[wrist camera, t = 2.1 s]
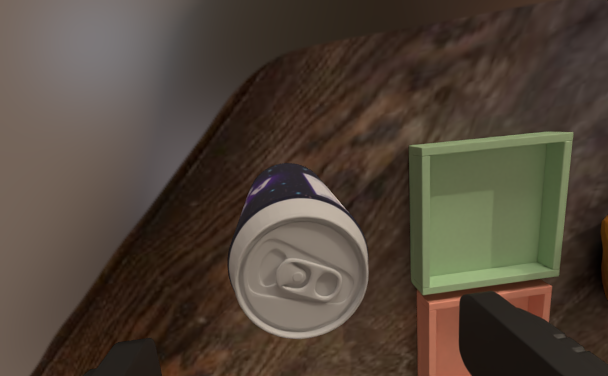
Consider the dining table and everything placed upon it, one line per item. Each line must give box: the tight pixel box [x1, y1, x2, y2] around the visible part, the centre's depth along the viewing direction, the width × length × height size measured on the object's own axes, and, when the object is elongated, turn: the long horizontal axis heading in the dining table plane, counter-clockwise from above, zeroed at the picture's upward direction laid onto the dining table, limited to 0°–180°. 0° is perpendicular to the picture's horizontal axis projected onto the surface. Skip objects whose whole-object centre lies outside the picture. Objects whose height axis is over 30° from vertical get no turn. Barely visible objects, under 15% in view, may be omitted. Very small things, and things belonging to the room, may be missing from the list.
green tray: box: [409, 132, 573, 295], centre depth 23 cm, size 11×11×2 cm
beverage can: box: [228, 163, 368, 339], centre depth 17 cm, size 6×6×12 cm
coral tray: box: [417, 279, 552, 376], centre depth 26 cm, size 10×10×2 cm
